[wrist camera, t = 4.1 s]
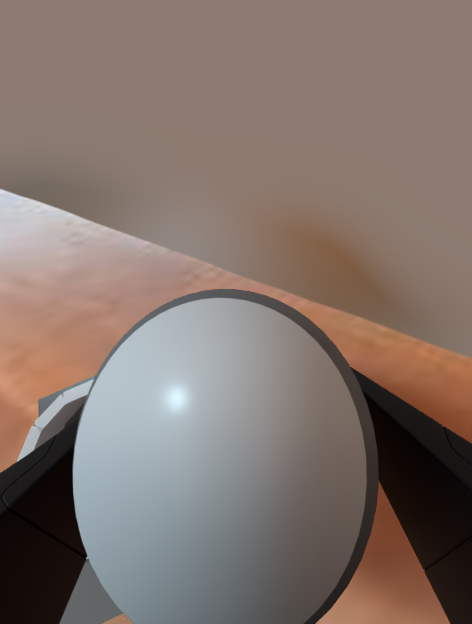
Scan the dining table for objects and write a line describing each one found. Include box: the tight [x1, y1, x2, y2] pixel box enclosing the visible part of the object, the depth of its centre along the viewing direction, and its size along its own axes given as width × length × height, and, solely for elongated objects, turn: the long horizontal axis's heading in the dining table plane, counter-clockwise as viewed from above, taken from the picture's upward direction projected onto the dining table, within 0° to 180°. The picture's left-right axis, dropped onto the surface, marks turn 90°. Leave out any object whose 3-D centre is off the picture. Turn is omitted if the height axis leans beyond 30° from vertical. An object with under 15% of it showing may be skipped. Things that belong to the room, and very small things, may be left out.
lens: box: [73, 289, 379, 624], centre depth 9 cm, size 6×6×13 cm
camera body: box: [17, 375, 123, 624], centre depth 12 cm, size 12×9×4 cm
